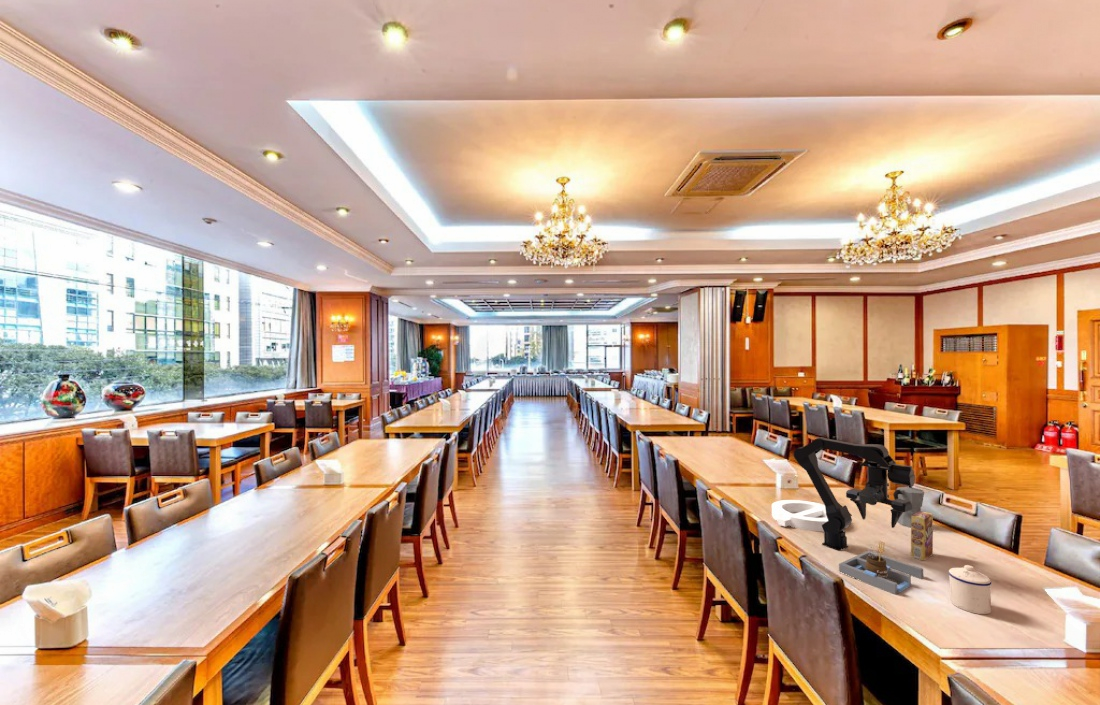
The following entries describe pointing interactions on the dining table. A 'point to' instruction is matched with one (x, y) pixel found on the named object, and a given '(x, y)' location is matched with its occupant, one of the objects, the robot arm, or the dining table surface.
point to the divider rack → (857, 566)
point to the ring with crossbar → (800, 514)
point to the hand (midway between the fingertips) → (878, 523)
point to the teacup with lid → (970, 590)
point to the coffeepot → (914, 497)
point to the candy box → (922, 535)
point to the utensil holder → (877, 563)
